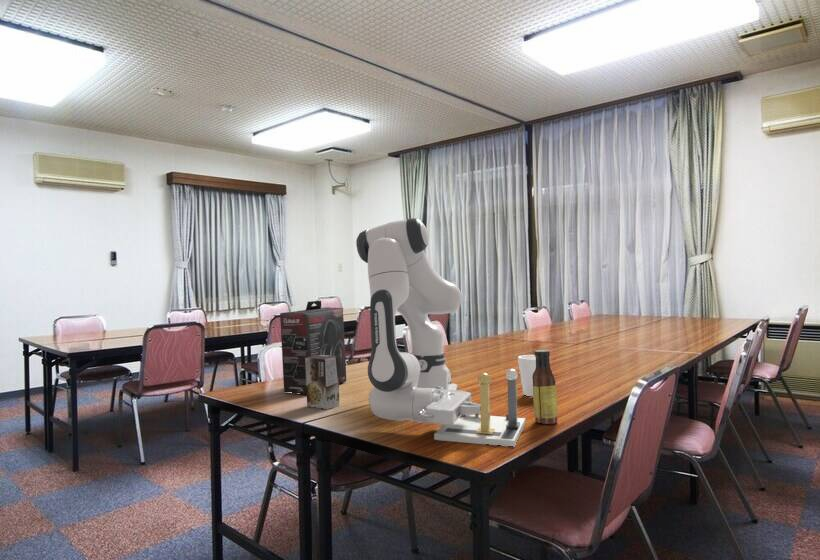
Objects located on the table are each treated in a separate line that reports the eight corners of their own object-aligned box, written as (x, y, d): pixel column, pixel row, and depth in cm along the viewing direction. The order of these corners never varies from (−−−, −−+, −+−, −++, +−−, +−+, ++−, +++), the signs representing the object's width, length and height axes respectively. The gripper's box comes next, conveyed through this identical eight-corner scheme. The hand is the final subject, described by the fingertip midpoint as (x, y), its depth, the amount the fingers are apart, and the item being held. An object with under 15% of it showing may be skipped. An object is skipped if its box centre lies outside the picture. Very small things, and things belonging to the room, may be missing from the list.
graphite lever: (508, 423, 135) (506, 367, 135) (520, 424, 134) (519, 367, 134) (505, 427, 132) (504, 370, 132) (518, 428, 130) (516, 370, 130)
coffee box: (340, 405, 166) (339, 355, 166) (326, 410, 161) (325, 358, 161) (319, 402, 171) (318, 354, 171) (305, 406, 166) (304, 356, 166)
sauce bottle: (561, 421, 142) (559, 350, 142) (551, 426, 137) (549, 352, 137) (540, 417, 146) (538, 348, 146) (529, 422, 142) (527, 350, 142)
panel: (455, 418, 148) (454, 409, 148) (525, 423, 141) (525, 413, 141) (434, 439, 129) (434, 429, 129) (514, 447, 122) (514, 435, 122)
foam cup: (517, 397, 170) (516, 358, 170) (520, 391, 179) (519, 354, 179) (547, 399, 167) (546, 359, 167) (548, 393, 176) (547, 355, 176)
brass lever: (479, 429, 131) (477, 371, 130) (494, 430, 129) (493, 372, 129) (476, 433, 128) (475, 373, 127) (492, 434, 126) (490, 374, 126)
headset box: (309, 396, 181) (307, 302, 180) (281, 393, 186) (278, 302, 186) (347, 382, 203) (345, 299, 202) (320, 380, 208) (318, 299, 208)
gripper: (414, 402, 124) (470, 406, 119) (439, 385, 143) (488, 387, 138) (415, 429, 124) (471, 433, 119) (440, 407, 143) (489, 411, 138)
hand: (481, 408), depth 129 cm, fingers closed, pressing on brass lever
